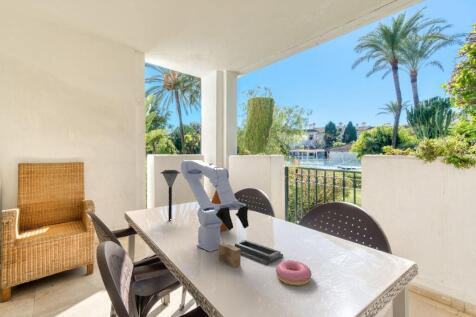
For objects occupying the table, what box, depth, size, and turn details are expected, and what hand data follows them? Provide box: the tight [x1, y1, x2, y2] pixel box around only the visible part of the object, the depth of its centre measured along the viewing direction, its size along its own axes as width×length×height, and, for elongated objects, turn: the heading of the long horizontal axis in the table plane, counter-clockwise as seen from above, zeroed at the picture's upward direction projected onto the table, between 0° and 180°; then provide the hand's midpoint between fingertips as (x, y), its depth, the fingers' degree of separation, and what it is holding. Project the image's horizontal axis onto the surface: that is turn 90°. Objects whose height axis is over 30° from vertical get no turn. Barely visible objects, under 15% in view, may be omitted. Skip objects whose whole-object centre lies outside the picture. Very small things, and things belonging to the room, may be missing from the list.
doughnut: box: [275, 259, 312, 287], centre depth 73 cm, size 11×11×4 cm
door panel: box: [217, 241, 242, 269], centre depth 83 cm, size 9×2×6 cm, turn 46°
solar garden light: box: [160, 169, 181, 221], centre depth 139 cm, size 12×12×30 cm
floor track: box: [234, 239, 284, 266], centre depth 91 cm, size 18×10×2 cm, turn 46°
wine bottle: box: [210, 189, 228, 232], centre depth 122 cm, size 10×10×30 cm
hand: (239, 228), depth 82 cm, fingers open, 7 cm apart
